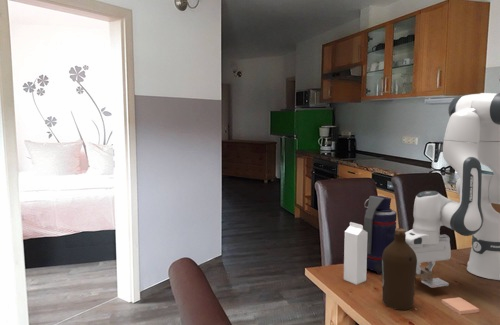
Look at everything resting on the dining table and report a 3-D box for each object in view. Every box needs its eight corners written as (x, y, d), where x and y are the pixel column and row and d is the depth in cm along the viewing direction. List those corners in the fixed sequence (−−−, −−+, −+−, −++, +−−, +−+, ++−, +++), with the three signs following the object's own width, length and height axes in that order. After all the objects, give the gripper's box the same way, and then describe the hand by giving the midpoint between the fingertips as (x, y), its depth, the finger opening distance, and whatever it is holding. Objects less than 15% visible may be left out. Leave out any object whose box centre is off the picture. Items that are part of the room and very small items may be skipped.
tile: (459, 297, 126) (478, 308, 118) (459, 301, 126) (478, 313, 119) (441, 299, 125) (459, 311, 117) (441, 303, 125) (459, 316, 117)
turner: (418, 269, 145) (419, 262, 145) (448, 285, 131) (449, 277, 130) (403, 271, 143) (403, 263, 143) (431, 287, 129) (431, 279, 129)
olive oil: (419, 302, 125) (422, 228, 123) (408, 314, 117) (411, 236, 115) (387, 292, 132) (390, 223, 130) (375, 304, 124) (377, 230, 122)
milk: (353, 275, 147) (354, 220, 145) (366, 280, 142) (368, 223, 140) (343, 279, 144) (344, 223, 141) (356, 285, 139) (357, 226, 137)
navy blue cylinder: (376, 261, 162) (378, 192, 159) (400, 270, 152) (403, 197, 149) (354, 268, 154) (355, 196, 151) (378, 278, 144) (380, 201, 141)
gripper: (443, 231, 142) (441, 267, 143) (396, 235, 137) (394, 272, 138) (456, 236, 136) (454, 273, 137) (407, 240, 130) (405, 279, 132)
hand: (423, 273), depth 137 cm, fingers closed on turner, 2 cm apart
